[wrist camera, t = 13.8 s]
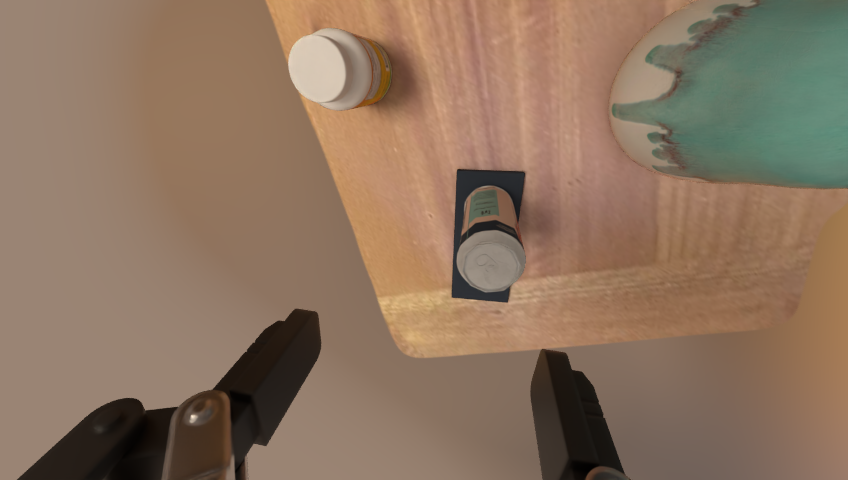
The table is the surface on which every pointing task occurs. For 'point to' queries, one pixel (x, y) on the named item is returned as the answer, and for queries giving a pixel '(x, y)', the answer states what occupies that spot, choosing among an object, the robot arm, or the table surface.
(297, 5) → the table surface
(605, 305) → the table surface
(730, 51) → the vase
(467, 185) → the dark rectangular strip
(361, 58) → the supplement bottle
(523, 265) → the beige cylinder
